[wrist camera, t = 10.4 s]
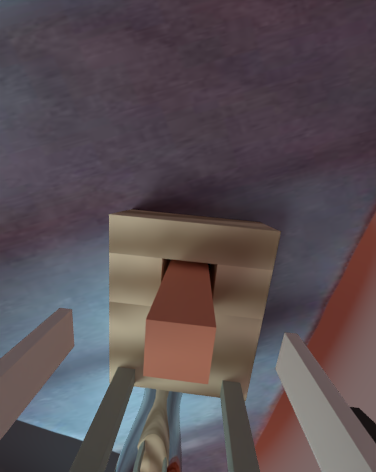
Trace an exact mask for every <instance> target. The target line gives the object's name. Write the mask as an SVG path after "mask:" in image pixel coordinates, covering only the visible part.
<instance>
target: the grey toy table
mask: <svg viewBox="0 0 376 472" xmlns="http://www.w3.org/2000/svg"><path fill="white" fill-rule="evenodd" d="M134 383H135V369H131V368H123V367H118V368H117V370H116V372H115V374H114V377H113V379H112V381H111V383H110V385H109V387H108V389H107V392H106V394H105V396H104V398H103V400H102V402H101V404H100V406H99V409H98V411H97V413H96V415H95V417H94V419H93V421H92V424H91V426H90V428H89V430H88V432H87V434H86V436H85V439H84V441H83V443H82V445H81V447H80V449H79V451H78V454H77V456H76V458H75V460H74V462H73V464H72V466H71V469H70V471H69V472H105V469H106V466H107V463H108V460H109V457H110V454H111V451H112V448H113V445H114V442H115V439H116V436H117V433H118V430H119V428H120V425H121V422H122V419H123V416H124V413H125V410H126V407H127V404H128V401H129V398H130V395H131V392H132V389H133V386H134ZM220 398H221V407H222V416H223V426H224V435H225V444H226V453H227V463H228V472H260V470H259V465H258V461H257V456H256V452H255V447H254V443H253V438H252V434H251V429H250V424H249V420H248V415H247V411H246V406H245V402H244V397H243V393H242V388H241V384H240V383H239V382H231V381H223V380H222V386H221V392H220Z"/></svg>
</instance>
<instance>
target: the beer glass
mask: <svg viewBox="0 0 376 472" xmlns="http://www.w3.org/2000/svg"><path fill="white" fill-rule="evenodd" d="M182 394H183V393H181V392H173V391H166V390H158V389H151V388H145V391H144V396H143V400H142V403H141V406H140V409H139V411H138V414H137V416H136V418H135V421H134V423H133V425H132V427H131V430H130V432H129V434H128V437H127V439H126V441H125V444H124V446H123V449H122V451H121V454H120V456H119V459H118V462H117V466H116V469H115V471H114V472H182V450H181V432H180V402H181V398H182Z"/></svg>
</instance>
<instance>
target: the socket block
mask: <svg viewBox="0 0 376 472" xmlns="http://www.w3.org/2000/svg"><path fill="white" fill-rule="evenodd" d="M280 234H281V231H279V230H276V229H274V228H272V227H270V226H267V225H265V224H263V223H261V222H254V221H244V220H234V219H224V218H214V217H204V216H194V215H183V214H173V213H163V212H153V211H143V210H133V209H131V210H126V211H122V212H117V213H113V214H109V360H110V383H111V381H112V379H113V377H114V374H115V372H116V370H117V368H118V367H123V368H131V369H135V383H134V386H136V387H143V388H151V389H158V390H166V391H173V392H181V393H189V394H196V395H204V396H211V397H219V398H220V392H221V386H222V380H223V381H231V382H239V383H240V384H241V388H242V393H243V397H244V401H246V397H247V392H248V387H249V383H250V378H251V373H252V368H253V363H254V359H255V354H256V349H257V344H258V339H259V335H260V330H261V325H262V320H263V316H264V311H265V306H266V301H267V296H268V292H269V287H270V282H271V277H272V273H273V268H274V263H275V258H276V253H277V249H278V244H279V239H280ZM170 259H173V260H182V261H191V262H200V263H210V264H211V267H210V274H209V276H210V283H211V291H212V298H213V306H214V313H215V321H216V334H215V341H214V348H213V355H212V361H211V368H210V375H209V382H208V384H201V383H193V382H185V381H178V380H170V379H162V378H155V377H147V376H143V369H144V348H145V327H146V318H147V315H148V313H149V311H150V308H151V306H152V304H153V301H154V299H155V297H156V294H157V292H158V289H159V287H160V285H161V282H162V280H163V278H164V275H165V273H166V271H167V268H168V266H169V263H170Z"/></svg>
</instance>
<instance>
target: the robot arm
mask: <svg viewBox="0 0 376 472" xmlns="http://www.w3.org/2000/svg"><path fill="white" fill-rule="evenodd" d="M73 347H74V334H73V318H72V309H65V308H59V309H58V310H57V311H56V312H54V313H53V314H52V315H51V316H50V317H49V318H47V319H46V320H45V321H44V322H43V323H42V324H40V325H39V326H38V327H37V328H36V329H35V330H33V331H32V332H31V333H30V334H29V335H28V336H26V337H25V338H24V339H23V340H22V341H20V342H19V343H18V344H17V345H16V346H15V347H13V348H12V349H11V350H10V351H9V352H8V353H6V354H5V355H4V356H3V357H2V358H1V359H0V440H1V438H2V437H3V436H4V434H5V433H6V432H7V431H8V429H9V428H10V427H11V426H12V424H13V423H14V422H15V421H16V419H17V418H18V417H19V416H20V414H21V413H22V412H23V410H24V409H25V408H26V407H27V405H28V404H29V403H30V402H31V400H32V399H33V398H34V396H35V395H36V394H37V393H38V391H39V390H40V389H41V388H42V386H43V385H44V384H45V383H46V381H47V380H48V379H49V377H50V376H51V375H52V374H53V372H54V371H55V370H56V369H57V367H58V366H59V365H60V364H61V362H62V361H63V360H64V358H65V357H66V356H67V355H68V353H69V352H70V351H71V350H72V348H73ZM275 369H276V371H277V373H278V376H279V378H280V380H281V382H282V385H283V387H284V389H285V391H286V393H287V396H288V398H289V400H290V402H291V404H292V407H293V409H294V411H295V413H296V416H297V418H298V420H299V422H300V424H301V427H302V429H303V431H304V433H305V436H306V438H307V440H308V442H309V445H310V447H311V449H312V451H313V453H314V456H315V458H316V460H317V463H318V465H319V467H320V469H321V471H322V472H376V424H375V423H374V422H373V421H372V420H371V419H370V418H369V417H368V416H367V415H366V414H365V413H363V411H362V410H360V409H359V408H354V407H349V406H348V404H347V403H346V401H345V400H344V398H343V397H342V396H341V394H340V393H339V391H338V390H337V389H336V387H335V386H334V384H333V383H332V382H331V380H330V379H329V377H328V376H327V375H326V373H325V372H324V370H323V369H322V368H321V366H320V365H319V364H318V362H317V361H316V359H315V358H314V357H313V355H312V354H311V352H310V351H309V350H308V348H307V347H306V345H305V344H304V342H303V341H302V340H301V338H300V337H299V335H298V334H295V333H286V332H285V333H284V337H283V341H282V345H281V349H280V353H279V357H278V361H277V364H276V368H275Z"/></svg>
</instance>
